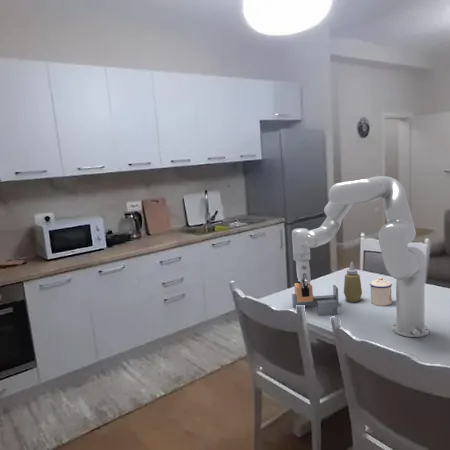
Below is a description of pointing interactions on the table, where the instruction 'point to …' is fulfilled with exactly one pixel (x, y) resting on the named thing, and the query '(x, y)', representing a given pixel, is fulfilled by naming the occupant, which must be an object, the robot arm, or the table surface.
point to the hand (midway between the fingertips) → (303, 293)
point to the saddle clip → (299, 293)
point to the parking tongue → (327, 307)
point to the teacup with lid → (381, 292)
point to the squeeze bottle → (352, 284)
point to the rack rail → (316, 299)
